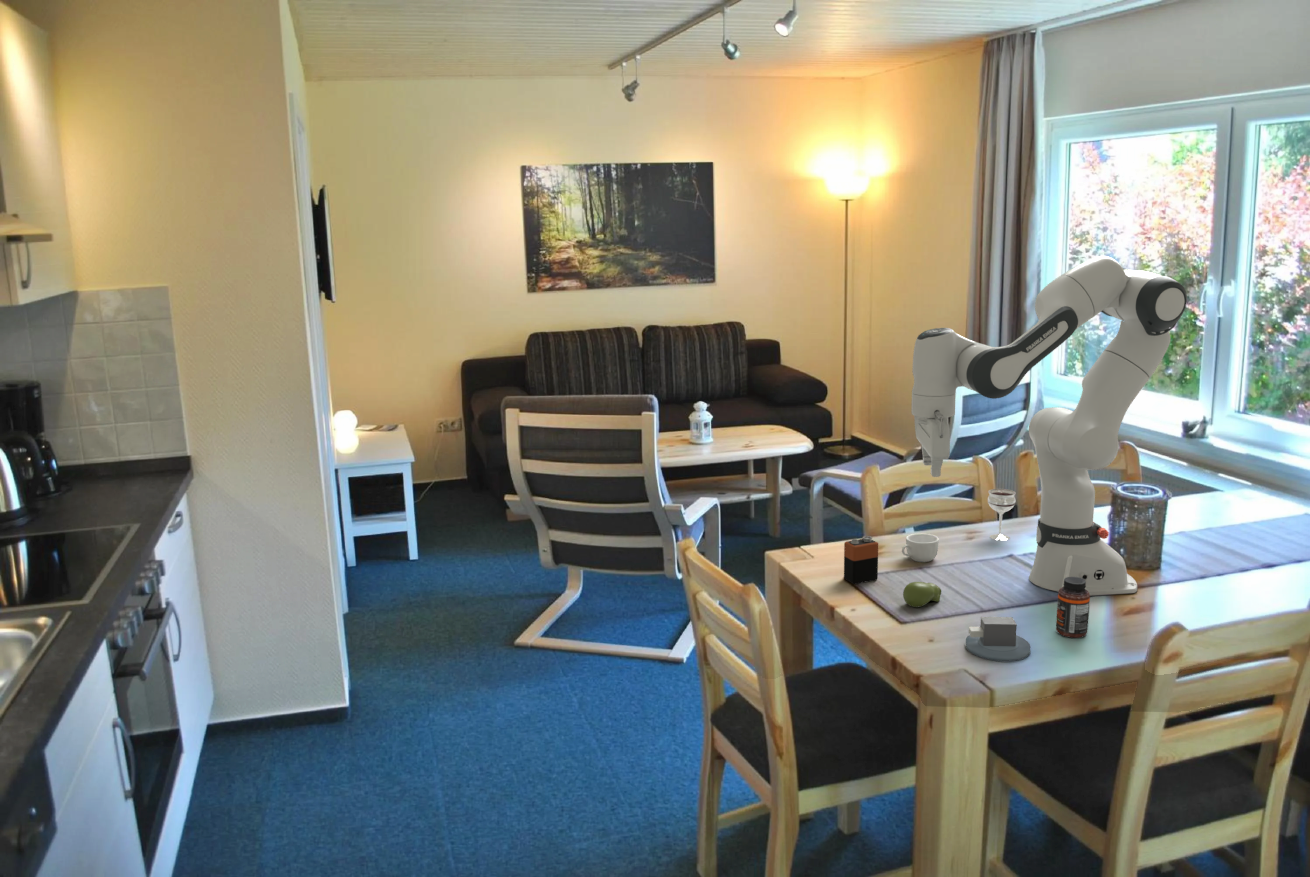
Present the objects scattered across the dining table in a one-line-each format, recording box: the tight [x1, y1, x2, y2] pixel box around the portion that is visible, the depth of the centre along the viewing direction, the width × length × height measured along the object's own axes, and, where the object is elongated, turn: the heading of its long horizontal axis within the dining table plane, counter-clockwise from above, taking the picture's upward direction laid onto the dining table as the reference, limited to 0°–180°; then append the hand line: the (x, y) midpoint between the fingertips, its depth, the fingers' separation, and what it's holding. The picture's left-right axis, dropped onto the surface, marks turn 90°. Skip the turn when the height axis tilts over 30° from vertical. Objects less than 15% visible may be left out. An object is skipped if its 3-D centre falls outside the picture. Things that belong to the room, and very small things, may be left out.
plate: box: [965, 634, 1032, 662], centre depth 202 cm, size 12×12×1 cm
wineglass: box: [987, 488, 1016, 541], centre depth 266 cm, size 7×7×12 cm
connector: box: [968, 616, 1018, 646], centre depth 201 cm, size 8×4×4 cm, turn 84°
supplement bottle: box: [1055, 577, 1091, 639], centre depth 207 cm, size 6×6×11 cm
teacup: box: [901, 532, 940, 563], centre depth 252 cm, size 10×8×5 cm
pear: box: [902, 581, 942, 608], centre depth 225 cm, size 6×5×10 cm
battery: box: [843, 535, 879, 585], centre depth 239 cm, size 4×7×10 cm, turn 113°
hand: (931, 470), depth 221 cm, fingers open, 8 cm apart
